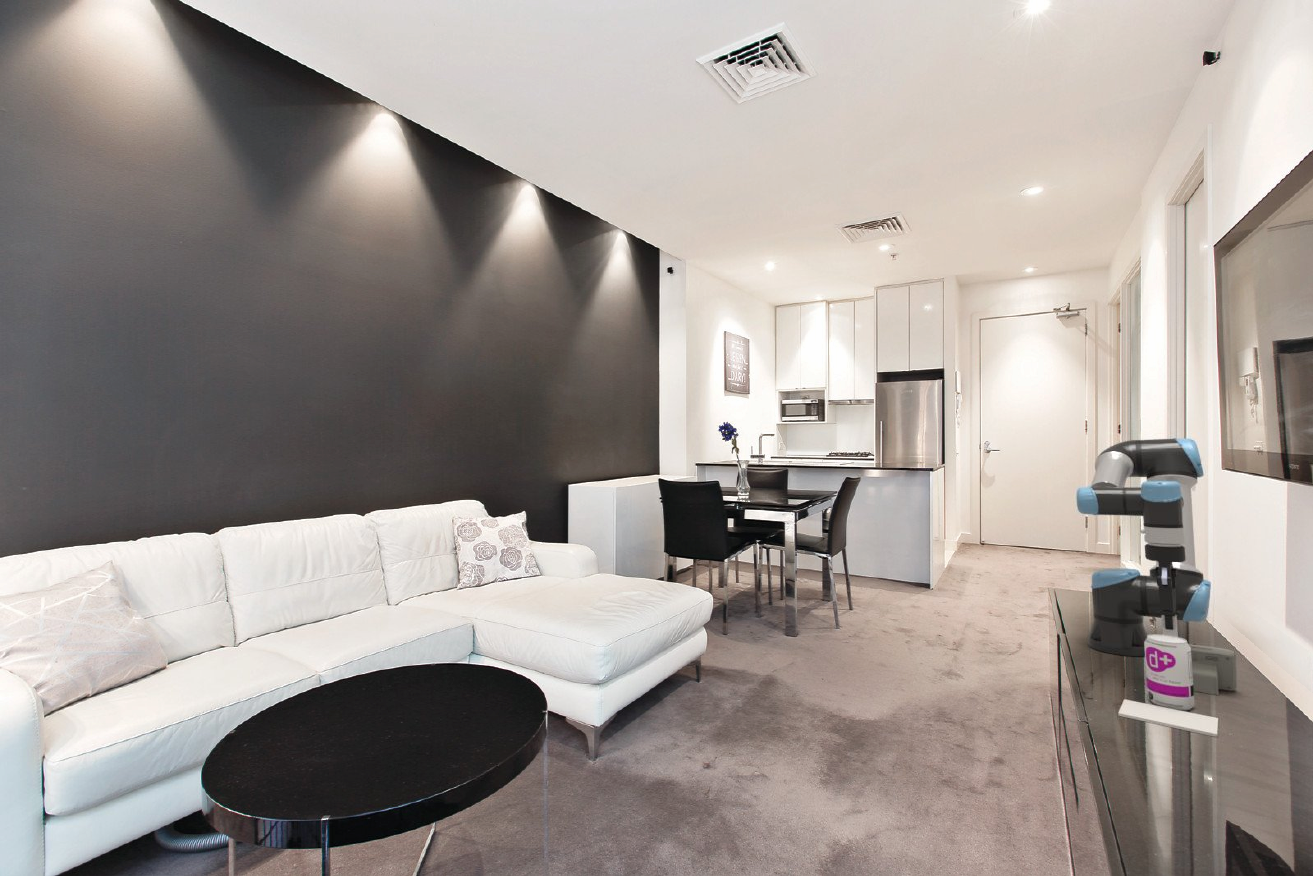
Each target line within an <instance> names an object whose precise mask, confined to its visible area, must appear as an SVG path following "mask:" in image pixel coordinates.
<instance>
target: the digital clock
mask: <svg viewBox="0 0 1313 876" xmlns="http://www.w3.org/2000/svg"><path fill="white" fill-rule="evenodd" d="M1188 644H1189V643H1188ZM1189 646H1190V647H1191V658H1192V673H1193V688H1194V692H1195V691H1198V692H1197V693H1201V692H1203V693H1202V694H1207V693H1208V695H1214V696H1219V695H1220V693H1219V690H1222V691H1223V690H1224V691H1230V692H1231V691H1235V690H1236V689H1237V688H1238V687H1237V685H1238V680H1237V655H1236V652H1235V651H1233V650H1231V649H1226V648H1220V647H1215V646H1214V647H1212V646H1206V645H1199V644H1189Z"/></svg>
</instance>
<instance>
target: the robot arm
mask: <svg viewBox="0 0 1313 876" xmlns="http://www.w3.org/2000/svg"><path fill="white" fill-rule="evenodd" d="M1094 469H1095V474H1094V476H1093V479H1092V480H1091V484H1090V485H1089V486H1084V487H1078V488H1077V491H1076V506H1077V510H1078V512H1079V513H1080V514H1082V515H1093V516H1129V517H1131V516H1132V517H1142V519H1143V521H1142V522H1143V525H1142V526H1143V529H1141V530H1140V533H1141V534H1144V542H1145V543H1146V544H1145V545H1144V557H1145V559H1146V560H1148V561H1152V562H1155V563H1156V564H1155V565H1153V566H1152V567H1151V568H1150V569H1149V575H1142V574H1141V572H1140V570H1138V569H1135V568H1108V569H1101V570H1097V571H1095V572H1093V573H1092V575H1091V586H1090V588H1091V593H1092V611H1093V612H1092V614H1093V622H1092V624H1091V627H1090V629H1089V633H1088V635H1087V644H1088V646H1089V647H1091V648H1092V649H1094V650H1097V651H1100V652H1102V653H1103V652H1104V653H1107V654H1108V653H1109V654H1114V655H1119V656H1127V657H1128V656H1130V657H1145V648H1144V642H1145V640H1146V639H1147V636H1148V635H1149V634H1148V633H1147V631H1146V629H1145V626H1144V622H1143V621H1144V620H1143V617H1148V618H1149V617H1150V618H1156V619H1158V618H1159V619H1161V628H1162V629H1161V630H1162V634H1163V635H1171V636H1176V637H1179V635H1178V621H1182V622H1192V623H1193V622H1194V623H1203V622H1205V621H1206V620H1207V618H1208V615H1209V608H1210V598H1211V589H1212V587H1211V586H1212V585H1211V584H1212V582H1211V581H1209V580H1208V579H1204V573H1203V572H1201V571H1200V570H1199V569H1198V568H1197V567H1196V550H1195V536H1194V534H1195V533H1194V532H1195V531H1194V520H1193V503H1192V487H1194V486H1195V485H1197V484H1198V478H1201V477H1204V469H1203V465H1202V459H1201V455H1200V453H1199V448H1198V445H1197V442H1196V441H1195V440H1193V439H1191V438H1177V437H1173V438H1160V439H1159V438H1158V439H1154V438H1153V439H1131V440H1130V439H1129V440H1125V441H1122V442H1119V443H1116V444H1113V445H1111V446H1109V447H1107V448H1106V449H1104V450H1103V451H1101V453H1099V455H1098V456H1097V458H1096V460H1095V462H1094ZM1127 478H1146V481H1144V482H1142V483H1141V486H1139V487H1137V486H1136V487H1129V486H1128V487H1127V486H1126V484H1127V483H1126V482H1127V480H1128V479H1127ZM1125 486H1126V487H1125Z"/></svg>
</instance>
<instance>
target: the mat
mask: <svg viewBox="0 0 1313 876" xmlns="http://www.w3.org/2000/svg"><path fill="white" fill-rule="evenodd" d="M1117 716H1118V717H1124V718H1127V719H1132V720H1136V721H1141V722H1145V723H1149V724H1150V723H1151V724H1155V725H1160V726H1164V727H1170V728H1174V729H1178V730H1183V731H1187V732H1191V733H1197V734H1200V735H1206V736H1210V737H1215V738H1218V732H1219V718H1218V717H1214V716H1209V715H1204V714H1200V713H1199V714H1198V713H1194V712H1189V711H1186V710H1175V709H1170V708H1165V707H1161V706H1158V705H1156V704H1149V703H1144V702H1139V701H1135V700H1131V699H1130V700H1129V699H1126V698H1125V699H1123V701H1122V704H1121V706H1120V708H1119V710H1118V715H1117Z"/></svg>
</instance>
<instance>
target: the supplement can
mask: <svg viewBox="0 0 1313 876" xmlns="http://www.w3.org/2000/svg"><path fill="white" fill-rule="evenodd" d="M1147 635H1148V636H1147V639H1146V640H1145V642H1144V648H1145V656H1144V659H1145V660H1144V661H1145V674H1146V678H1145V679H1146V689H1147V691H1146V693H1147V698H1148V700H1150V701H1151V702H1153V703H1152V704H1153V705H1155V706H1160V707H1165V708H1170V709H1175V710H1180V711H1190V710H1192V708H1194V707H1195V705H1196V704H1195V691H1194V688H1193V673H1192V658H1191V647H1190V646H1189V643H1188V641H1187V639H1186V638H1182V637H1179V636H1178V637H1176V636H1171V635H1163V633H1160V634H1159V633H1154V634H1153V633H1152V634H1147Z"/></svg>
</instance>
